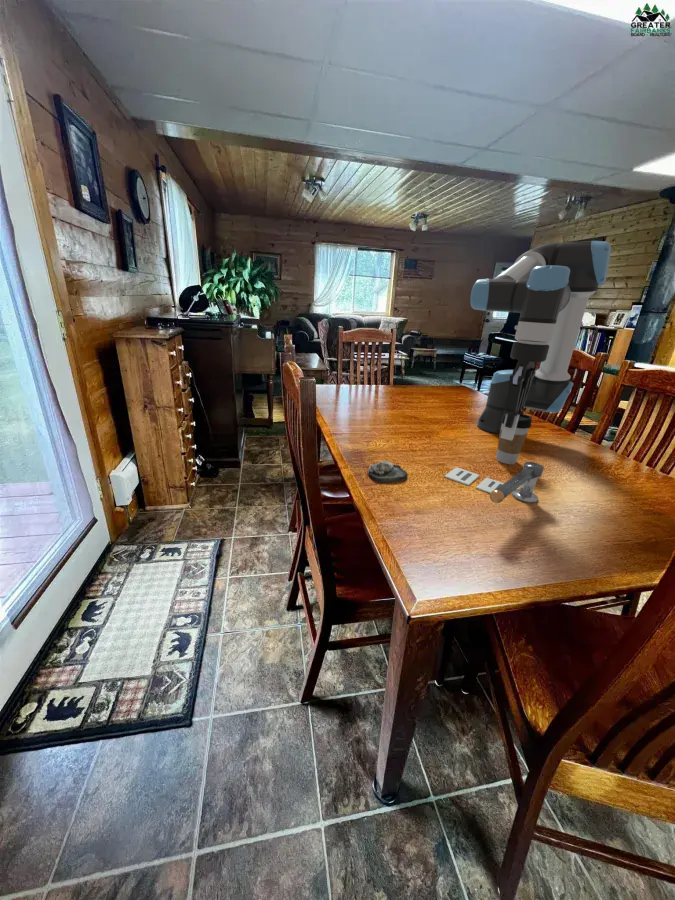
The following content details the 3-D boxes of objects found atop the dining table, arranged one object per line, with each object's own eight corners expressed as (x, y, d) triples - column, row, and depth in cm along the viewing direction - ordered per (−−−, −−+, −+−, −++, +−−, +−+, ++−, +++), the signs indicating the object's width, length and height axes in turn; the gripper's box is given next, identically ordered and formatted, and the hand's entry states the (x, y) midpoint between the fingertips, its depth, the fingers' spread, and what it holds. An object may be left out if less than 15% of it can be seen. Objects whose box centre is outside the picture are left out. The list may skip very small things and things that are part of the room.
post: (515, 488, 95) (522, 466, 93) (539, 496, 92) (547, 474, 89) (509, 496, 91) (515, 474, 88) (534, 505, 88) (541, 482, 85)
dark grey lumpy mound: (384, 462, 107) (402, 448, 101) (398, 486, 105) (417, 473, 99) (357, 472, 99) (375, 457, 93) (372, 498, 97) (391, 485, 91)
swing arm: (525, 468, 92) (528, 459, 91) (543, 475, 89) (546, 465, 88) (482, 499, 76) (485, 488, 75) (502, 508, 73) (506, 497, 72)
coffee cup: (523, 467, 108) (537, 421, 102) (494, 464, 110) (506, 418, 104) (516, 456, 116) (528, 413, 110) (489, 453, 117) (500, 410, 111)
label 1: (456, 468, 105) (456, 466, 105) (479, 476, 101) (479, 474, 101) (444, 477, 100) (444, 475, 99) (468, 485, 95) (468, 484, 95)
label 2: (486, 478, 100) (486, 477, 100) (511, 487, 96) (512, 485, 96) (475, 488, 94) (476, 486, 94) (502, 498, 90) (503, 496, 90)
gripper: (522, 339, 87) (499, 428, 96) (505, 341, 78) (482, 440, 87) (556, 342, 83) (529, 436, 92) (543, 345, 73) (514, 449, 83)
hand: (506, 438), depth 89 cm, fingers closed
